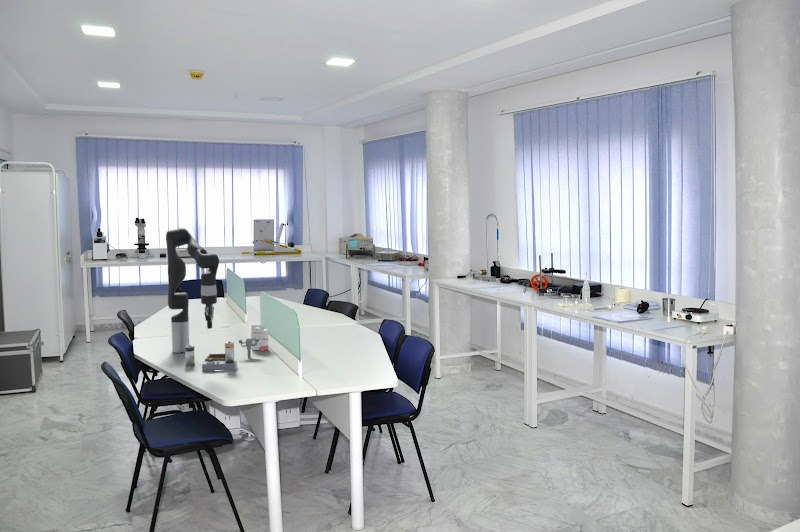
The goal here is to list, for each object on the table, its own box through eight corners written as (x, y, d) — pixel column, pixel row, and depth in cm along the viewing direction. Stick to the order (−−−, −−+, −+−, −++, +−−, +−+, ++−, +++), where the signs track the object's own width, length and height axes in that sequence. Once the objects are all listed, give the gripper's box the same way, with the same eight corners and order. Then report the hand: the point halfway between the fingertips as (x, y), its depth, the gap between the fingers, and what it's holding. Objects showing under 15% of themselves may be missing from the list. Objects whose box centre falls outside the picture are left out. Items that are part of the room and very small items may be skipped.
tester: (204, 368, 323) (204, 360, 323) (236, 367, 325) (236, 359, 325) (202, 371, 317) (202, 363, 317) (235, 370, 319) (235, 362, 319)
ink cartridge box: (268, 349, 365) (268, 324, 364) (265, 351, 360) (264, 325, 359) (255, 348, 367) (254, 323, 366) (251, 350, 362) (250, 325, 361)
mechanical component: (239, 357, 346) (238, 339, 345) (258, 355, 350) (258, 337, 349) (239, 358, 343) (239, 340, 342) (259, 357, 347) (258, 339, 346)
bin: (209, 360, 339) (209, 354, 339) (231, 359, 340) (231, 353, 340) (205, 365, 328) (204, 359, 328) (227, 365, 329) (227, 358, 329)
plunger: (207, 368, 322) (207, 358, 322) (215, 368, 323) (214, 357, 322) (206, 370, 318) (205, 359, 318) (213, 370, 319) (213, 359, 318)
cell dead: (186, 364, 331) (186, 344, 330) (195, 364, 331) (195, 344, 330) (184, 366, 326) (184, 346, 325) (193, 366, 327) (193, 346, 326)
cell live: (225, 361, 323) (225, 340, 322) (235, 361, 324) (234, 340, 323) (224, 363, 319) (224, 342, 318) (233, 363, 319) (233, 342, 318)
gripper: (203, 292, 323) (204, 325, 325) (198, 296, 310) (199, 331, 312) (218, 291, 324) (219, 325, 326) (214, 295, 311) (215, 330, 312)
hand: (209, 328), depth 319 cm, fingers closed
